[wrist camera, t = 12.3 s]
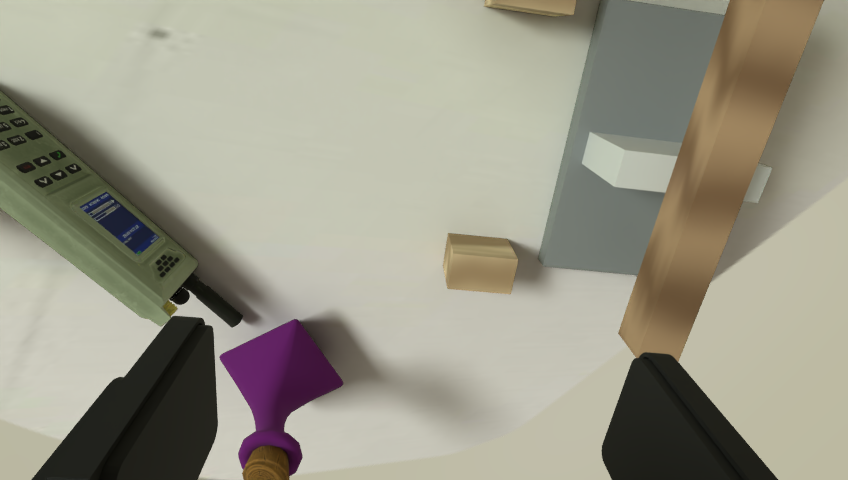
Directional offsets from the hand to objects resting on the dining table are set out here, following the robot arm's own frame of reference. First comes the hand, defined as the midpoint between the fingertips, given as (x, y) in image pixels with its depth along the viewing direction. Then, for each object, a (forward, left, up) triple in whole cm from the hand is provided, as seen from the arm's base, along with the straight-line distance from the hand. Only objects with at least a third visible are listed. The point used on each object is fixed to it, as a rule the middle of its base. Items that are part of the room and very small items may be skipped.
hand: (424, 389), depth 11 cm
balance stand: (-1, +19, -28) cm, 34 cm away
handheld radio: (+9, -21, -29) cm, 37 cm away
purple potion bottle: (+20, -8, -28) cm, 36 cm away
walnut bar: (-1, +19, -21) cm, 28 cm away
